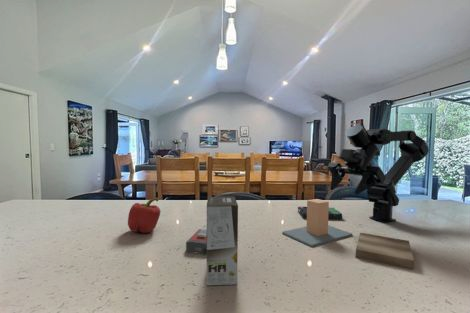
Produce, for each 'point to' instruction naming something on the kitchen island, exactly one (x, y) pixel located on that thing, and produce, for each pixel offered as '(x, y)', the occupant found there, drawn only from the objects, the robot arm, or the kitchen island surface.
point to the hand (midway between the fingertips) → (342, 191)
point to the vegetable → (143, 216)
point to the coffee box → (222, 240)
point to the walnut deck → (385, 250)
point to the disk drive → (331, 214)
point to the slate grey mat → (314, 240)
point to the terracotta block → (317, 217)
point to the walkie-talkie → (198, 242)
